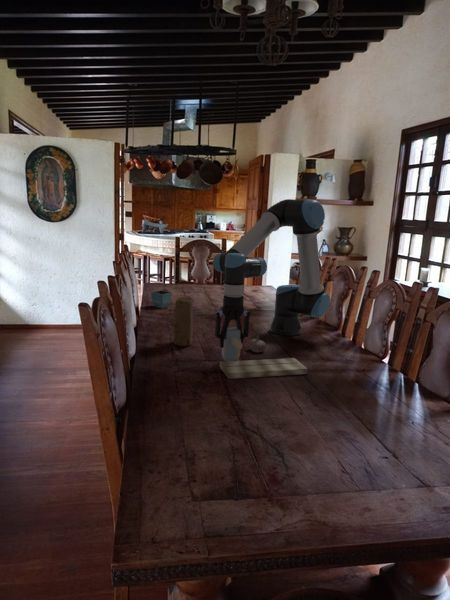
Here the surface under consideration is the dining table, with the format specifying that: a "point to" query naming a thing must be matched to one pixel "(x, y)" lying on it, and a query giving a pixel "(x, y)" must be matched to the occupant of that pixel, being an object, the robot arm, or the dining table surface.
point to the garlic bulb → (257, 344)
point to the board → (262, 368)
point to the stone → (183, 321)
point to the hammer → (232, 344)
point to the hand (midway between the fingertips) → (230, 354)
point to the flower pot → (161, 298)
